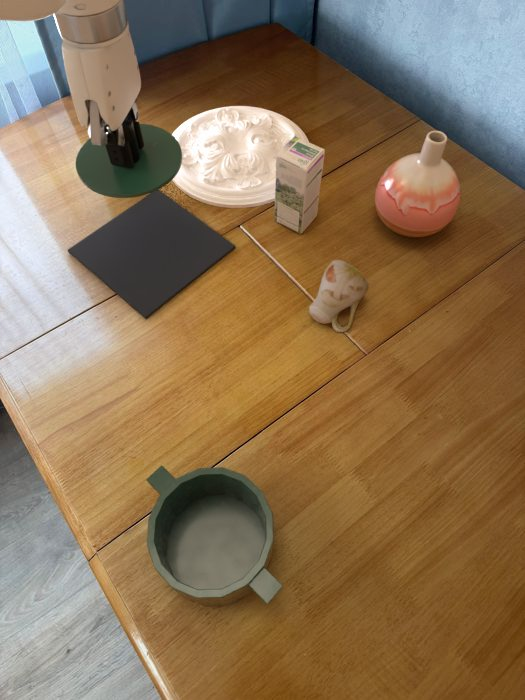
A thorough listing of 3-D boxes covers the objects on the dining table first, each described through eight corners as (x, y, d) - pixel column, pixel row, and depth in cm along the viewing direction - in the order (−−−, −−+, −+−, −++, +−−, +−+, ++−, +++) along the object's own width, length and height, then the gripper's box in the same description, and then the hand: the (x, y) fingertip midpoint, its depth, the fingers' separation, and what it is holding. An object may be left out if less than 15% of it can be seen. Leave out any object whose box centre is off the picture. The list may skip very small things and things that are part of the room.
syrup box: (318, 215, 94) (327, 147, 81) (300, 236, 91) (306, 168, 79) (290, 202, 95) (295, 133, 83) (272, 222, 93) (274, 154, 80)
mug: (294, 319, 83) (306, 259, 78) (331, 305, 89) (344, 249, 84) (331, 339, 79) (346, 278, 74) (367, 324, 85) (383, 266, 80)
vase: (380, 186, 97) (402, 99, 82) (454, 206, 95) (491, 119, 80) (360, 238, 91) (380, 154, 76) (438, 261, 88) (475, 178, 73)
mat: (145, 319, 82) (145, 317, 82) (68, 252, 89) (67, 249, 89) (235, 248, 90) (235, 245, 89) (157, 190, 97) (157, 188, 96)
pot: (232, 651, 60) (228, 650, 51) (124, 532, 66) (105, 514, 58) (310, 558, 65) (318, 543, 56) (203, 456, 71) (195, 429, 63)
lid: (123, 218, 69) (110, 177, 63) (56, 165, 74) (39, 123, 68) (204, 162, 74) (199, 119, 68) (137, 117, 79) (127, 73, 73)
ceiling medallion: (262, 230, 92) (262, 217, 89) (135, 171, 99) (131, 157, 97) (336, 139, 104) (338, 125, 101) (218, 93, 111) (217, 79, 109)
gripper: (87, -26, 61) (123, 114, 77) (24, 54, 53) (79, 192, 69) (149, -18, 61) (172, 122, 77) (94, 64, 53) (133, 202, 68)
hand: (127, 154), depth 73 cm, fingers closed on lid, 3 cm apart
